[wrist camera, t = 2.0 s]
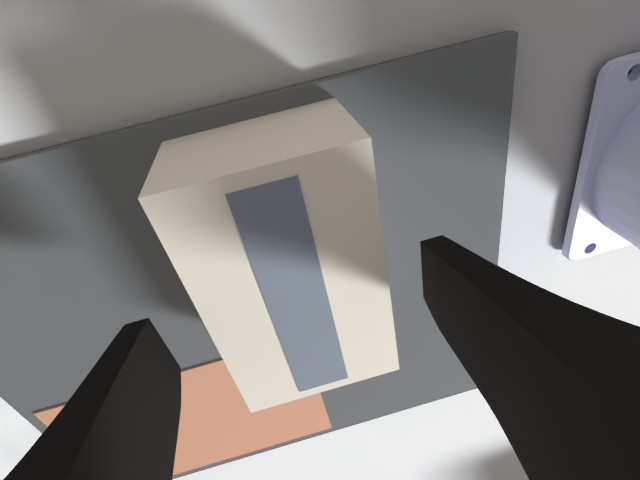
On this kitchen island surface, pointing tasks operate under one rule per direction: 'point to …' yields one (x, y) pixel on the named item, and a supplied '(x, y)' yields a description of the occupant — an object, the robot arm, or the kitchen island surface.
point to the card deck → (280, 248)
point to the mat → (168, 290)
